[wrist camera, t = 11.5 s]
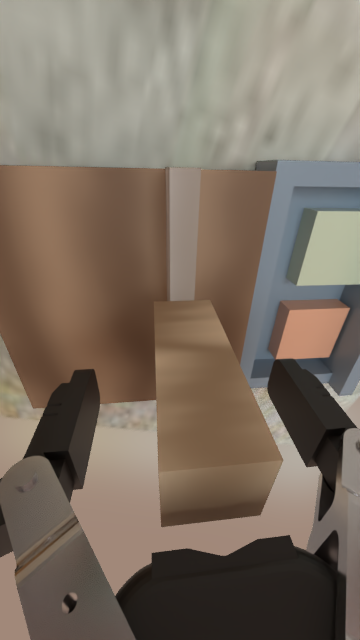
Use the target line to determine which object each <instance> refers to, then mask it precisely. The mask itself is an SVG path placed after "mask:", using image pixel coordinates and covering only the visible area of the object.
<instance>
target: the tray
mask: <svg viewBox="0 0 360 640" xmlns="http://www.w3.org/2000/svg"><path fill="white" fill-rule="evenodd" d="M256 171H277V174H276V179H275V184H274V189H273V195H272V200H271V205H270V210H269V216H268V221H267V226H266V231H265V237H264V242H263V247H262V252H261V258H260V263H259V268H258V273H257V279H256V284H255V289H254V294H253V300H252V305H251V310H250V315H249V321H248V326H247V331H246V336H245V342H244V347H243V352H242V357H241V363H240V366H241V369H242V371H243V373H244V375H245V377H246V379H247V382H248V384H249V386H250V388H262V387H267V385H268V380H269V377H270V373H271V370H272V366H273V363H274V361H275V359H274V357H273V356H272V354H271V353H270V351H269V350H268V347H269V343H270V339H271V335H272V331H273V328H274V324H275V320H276V316H277V312H278V308H279V304H280V301H285V300H318V299H338V300H339V301H341V302H342V303H344V304H345V305H347V306H348V307H349V308H350V310H349V312H348V314H347V317H346V319H345V321H344V323H343V326H342V328H341V330H340V333H339V335H338V337H337V340H336V342H335V344H334V347H333V349H332V351H331V354H330V356H329V357H324V358H306V359H294V360H295V361H296V362H297V363H298V364H299V366H300V367H301V368H302V369H306V370H308V371H309V372H310V373H312V374H313V375H315V376H316V377H317V378H318V379H319V381H320V382H321V383H329V385H330V386H331V387H332V388H333V389H334V391H335V392H336V393H337V394H338V395H339V396H343V395H352V393H353V392H354V390H355V388H356V386H357V384H358V382H359V381H360V284H353V285H308V286H296V285H295V284H294V283H292V282H291V281H290V280H289V279H287V278H286V276H287V272H288V268H289V265H290V261H291V257H292V253H293V249H294V245H295V241H296V238H297V234H298V230H299V226H300V222H301V218H302V215H303V211H304V208H360V162H335V161H296V160H271V161H257V165H256Z"/></svg>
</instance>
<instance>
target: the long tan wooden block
mask: <svg viewBox="0 0 360 640" xmlns="http://www.w3.org/2000/svg"><path fill="white" fill-rule="evenodd" d="M200 181H201V168H184V167H165V185H166V267H167V301H159V302H154V329H155V365H156V401H157V437H158V473H159V491H160V510H161V527H166V526H174V525H183V524H191V523H199V522H207V521H216V520H224V519H233V518H240V517H249V516H257V515H260V514H261V512H262V509H263V507H264V505H265V503H266V500H267V498H268V496H269V493H270V491H271V488H272V486H273V484H274V481H275V479H276V476H277V474H278V472H279V469H280V467H281V465H282V462H283V458H282V456H281V454H280V452H279V450H278V447H277V445H276V443H275V441H274V439H273V436H272V434H271V432H270V430H269V428H268V425H267V423H266V421H265V419H264V417H263V415H262V412H261V410H260V408H259V406H258V404H257V401H256V399H255V397H254V395H253V393H252V390H251V388H250V386H249V384H248V382H247V379H246V377H245V375H244V373H243V371H242V369H241V366H240V364H239V362H238V360H237V358H236V355H235V353H234V351H233V349H232V347H231V344H230V342H229V340H228V338H227V336H226V334H225V331H224V329H223V327H222V325H221V323H220V320H219V318H218V316H217V314H216V312H215V309H214V307H213V305H212V303H211V301H210V300H194V296H195V277H196V257H197V238H198V219H199V200H200Z"/></svg>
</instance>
